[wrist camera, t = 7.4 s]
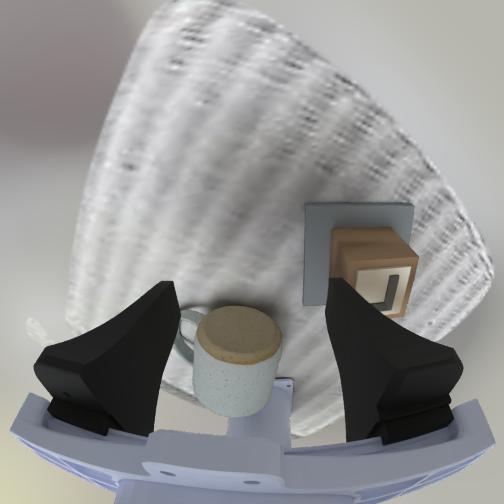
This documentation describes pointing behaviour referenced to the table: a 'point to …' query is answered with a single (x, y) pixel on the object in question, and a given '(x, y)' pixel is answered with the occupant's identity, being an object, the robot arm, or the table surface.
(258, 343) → the ceramic mug
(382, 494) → the robot arm
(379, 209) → the slate mat
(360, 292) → the letter cube
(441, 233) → the table surface
